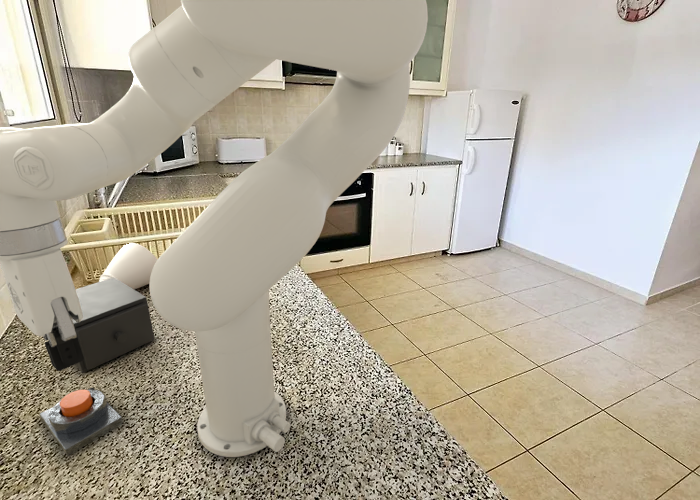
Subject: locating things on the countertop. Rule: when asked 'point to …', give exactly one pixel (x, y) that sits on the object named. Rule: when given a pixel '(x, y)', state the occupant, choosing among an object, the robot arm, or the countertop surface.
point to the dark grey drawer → (114, 334)
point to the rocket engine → (131, 266)
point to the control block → (81, 423)
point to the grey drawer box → (105, 303)
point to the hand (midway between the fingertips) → (69, 363)
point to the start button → (76, 403)
